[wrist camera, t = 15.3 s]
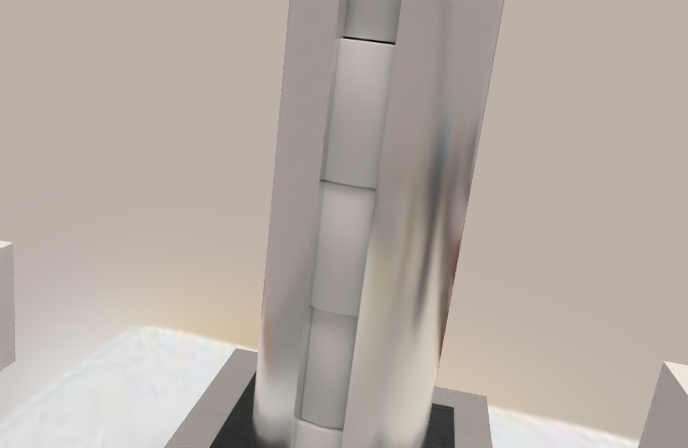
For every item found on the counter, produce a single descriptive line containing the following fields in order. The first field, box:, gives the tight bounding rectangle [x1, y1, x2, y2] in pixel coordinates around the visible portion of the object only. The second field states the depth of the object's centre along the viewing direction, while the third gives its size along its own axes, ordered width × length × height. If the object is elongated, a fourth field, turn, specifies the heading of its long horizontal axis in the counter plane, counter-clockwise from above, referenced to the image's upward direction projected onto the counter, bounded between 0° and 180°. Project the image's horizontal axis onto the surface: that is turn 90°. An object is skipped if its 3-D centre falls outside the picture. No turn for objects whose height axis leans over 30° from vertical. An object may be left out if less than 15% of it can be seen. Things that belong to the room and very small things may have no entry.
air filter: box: [250, 0, 504, 448], centre depth 22 cm, size 6×6×25 cm
